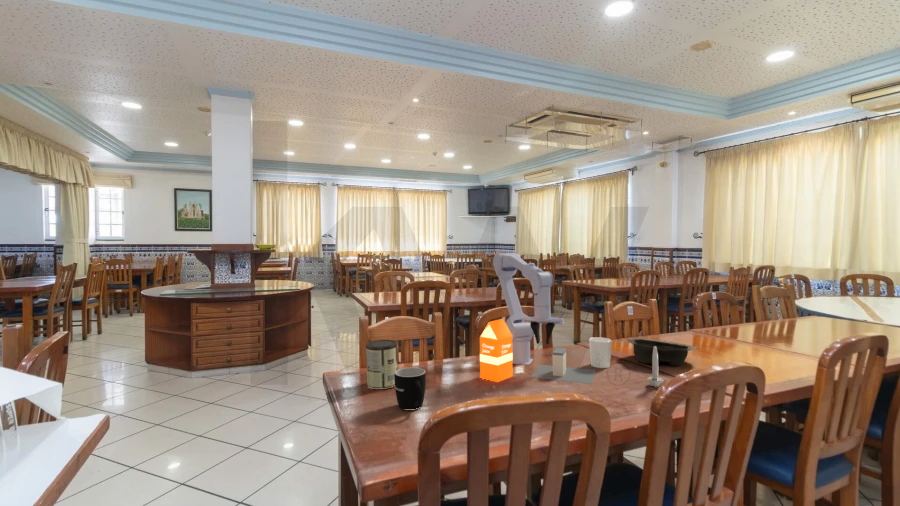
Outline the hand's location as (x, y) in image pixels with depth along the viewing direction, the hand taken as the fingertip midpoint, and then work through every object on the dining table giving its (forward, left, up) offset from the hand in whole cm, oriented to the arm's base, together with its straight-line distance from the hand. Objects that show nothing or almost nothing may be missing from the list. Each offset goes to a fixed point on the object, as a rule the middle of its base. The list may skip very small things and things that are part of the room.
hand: (543, 343), depth 155 cm
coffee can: (-47, -33, -11) cm, 58 cm away
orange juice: (-14, -12, -11) cm, 21 cm away
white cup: (+18, +15, -11) cm, 26 cm away
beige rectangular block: (+6, 0, -10) cm, 12 cm away
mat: (+7, 0, -10) cm, 13 cm away
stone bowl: (+39, +31, -11) cm, 51 cm away
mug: (-28, -47, -11) cm, 55 cm away
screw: (+36, -2, -11) cm, 38 cm away
